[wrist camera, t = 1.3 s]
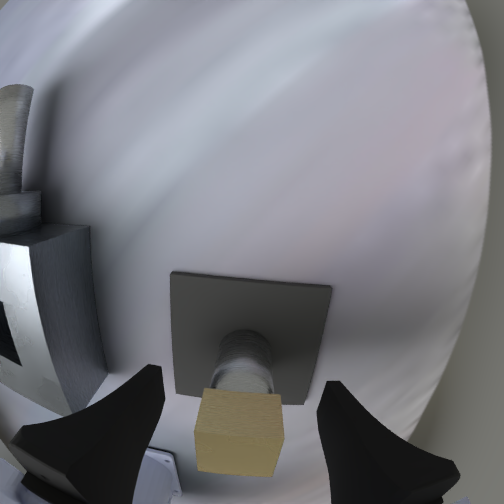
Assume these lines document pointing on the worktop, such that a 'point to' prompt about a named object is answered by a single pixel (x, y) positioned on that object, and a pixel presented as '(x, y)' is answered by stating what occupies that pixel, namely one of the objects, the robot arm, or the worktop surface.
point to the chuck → (43, 286)
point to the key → (240, 410)
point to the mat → (246, 317)
